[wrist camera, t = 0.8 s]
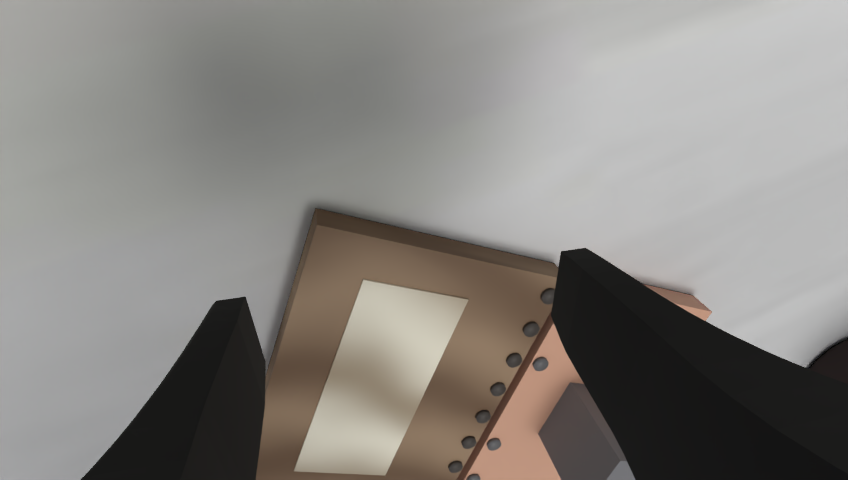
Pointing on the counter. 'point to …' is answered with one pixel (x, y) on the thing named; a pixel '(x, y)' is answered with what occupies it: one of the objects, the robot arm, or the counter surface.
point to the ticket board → (394, 352)
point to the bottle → (834, 363)
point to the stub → (553, 419)
